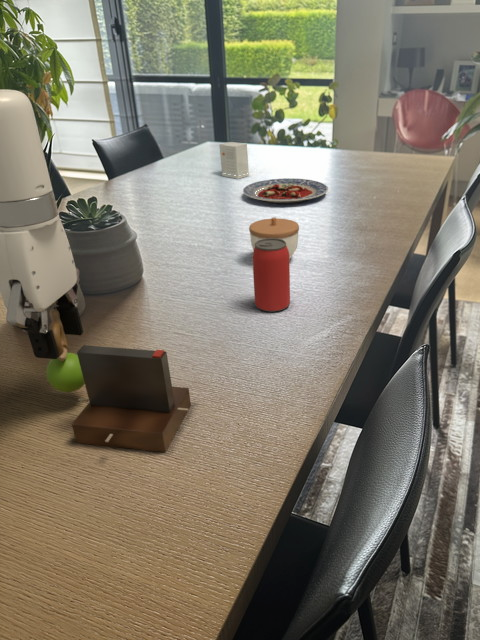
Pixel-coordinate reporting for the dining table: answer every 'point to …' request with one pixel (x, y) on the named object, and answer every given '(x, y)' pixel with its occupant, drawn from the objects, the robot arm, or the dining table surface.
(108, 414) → the frame stand
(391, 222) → the dining table surface
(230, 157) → the small box
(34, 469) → the dining table surface
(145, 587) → the dining table surface
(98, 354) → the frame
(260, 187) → the ceramic plate
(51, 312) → the green ball on stick
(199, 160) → the dining table surface
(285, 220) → the trinket box
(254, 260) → the beer can
